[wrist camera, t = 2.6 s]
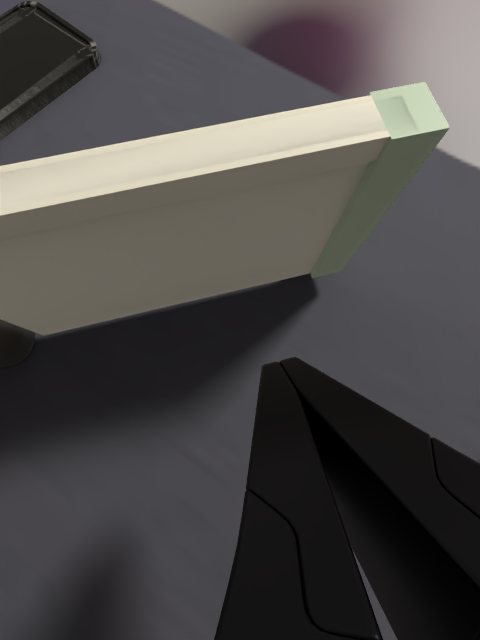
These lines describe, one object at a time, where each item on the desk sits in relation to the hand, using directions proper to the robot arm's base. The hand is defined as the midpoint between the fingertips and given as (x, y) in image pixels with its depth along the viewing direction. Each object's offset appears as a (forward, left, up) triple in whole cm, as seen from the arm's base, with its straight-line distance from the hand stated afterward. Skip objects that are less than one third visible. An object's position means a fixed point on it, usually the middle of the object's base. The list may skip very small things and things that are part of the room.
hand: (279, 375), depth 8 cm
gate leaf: (0, +6, -7) cm, 10 cm away
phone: (-4, +27, -9) cm, 28 cm away
